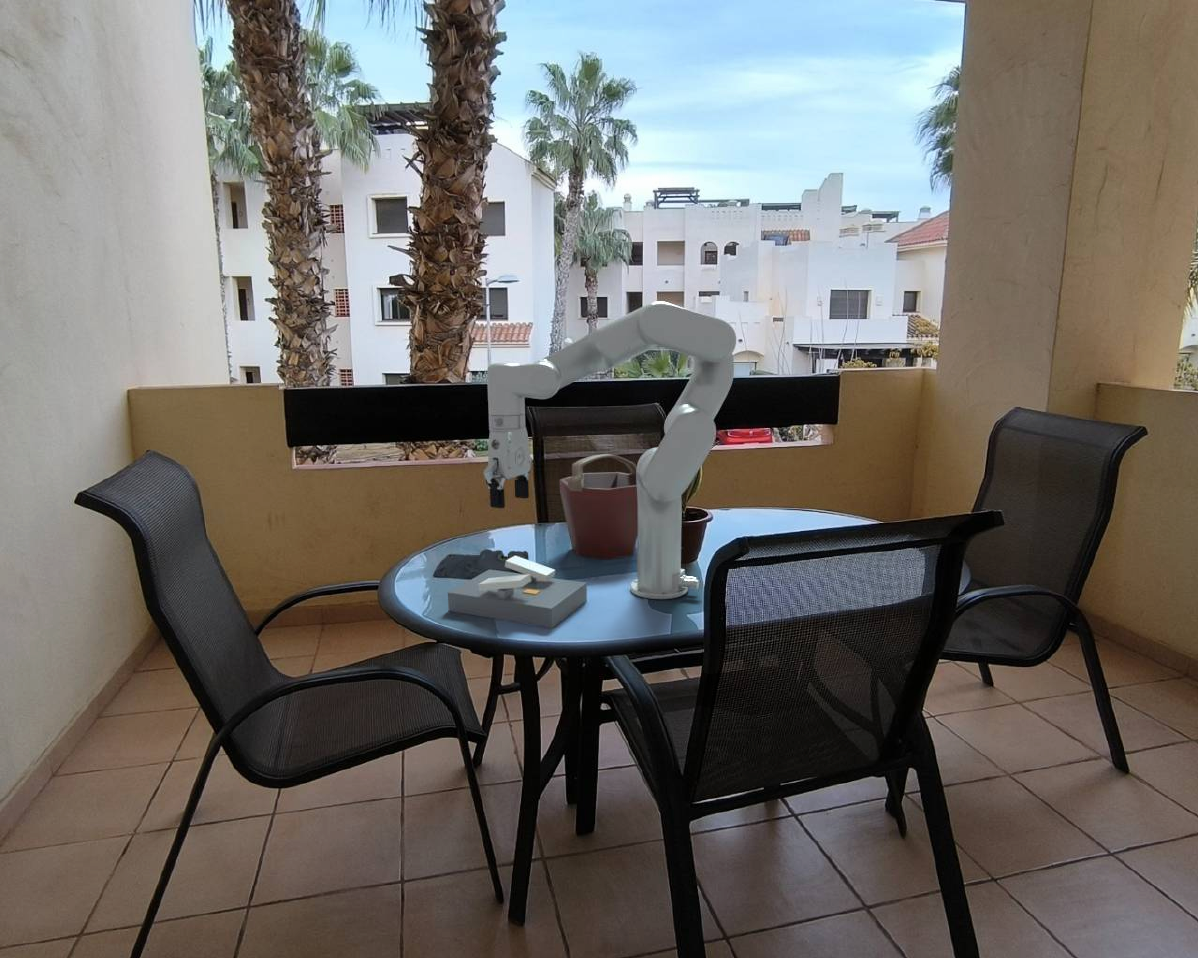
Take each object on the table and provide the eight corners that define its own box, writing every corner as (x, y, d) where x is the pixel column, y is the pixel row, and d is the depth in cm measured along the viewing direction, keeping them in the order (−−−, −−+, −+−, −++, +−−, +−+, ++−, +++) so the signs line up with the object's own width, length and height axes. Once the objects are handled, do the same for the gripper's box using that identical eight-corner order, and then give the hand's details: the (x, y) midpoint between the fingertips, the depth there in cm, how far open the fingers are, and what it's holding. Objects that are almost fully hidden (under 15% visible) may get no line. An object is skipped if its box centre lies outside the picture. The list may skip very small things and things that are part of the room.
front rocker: (531, 580, 151) (529, 574, 151) (521, 587, 147) (520, 580, 147) (490, 584, 155) (488, 578, 155) (479, 590, 152) (478, 584, 151)
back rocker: (554, 575, 160) (555, 569, 160) (545, 581, 157) (546, 575, 156) (514, 561, 164) (515, 555, 163) (504, 566, 160) (505, 560, 160)
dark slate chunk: (450, 560, 190) (449, 542, 189) (534, 563, 187) (534, 545, 186) (428, 580, 175) (427, 560, 174) (519, 583, 172) (519, 564, 171)
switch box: (586, 600, 159) (586, 575, 158) (552, 628, 145) (551, 600, 144) (490, 586, 169) (489, 562, 168) (448, 610, 154) (447, 584, 153)
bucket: (582, 568, 181) (580, 466, 176) (542, 546, 200) (539, 453, 195) (665, 552, 193) (666, 456, 188) (619, 533, 212) (619, 445, 207)
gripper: (500, 428, 147) (503, 513, 151) (543, 418, 162) (545, 495, 166) (468, 427, 150) (472, 509, 154) (513, 417, 166) (516, 493, 169)
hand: (510, 502), depth 160 cm, fingers open, 9 cm apart
